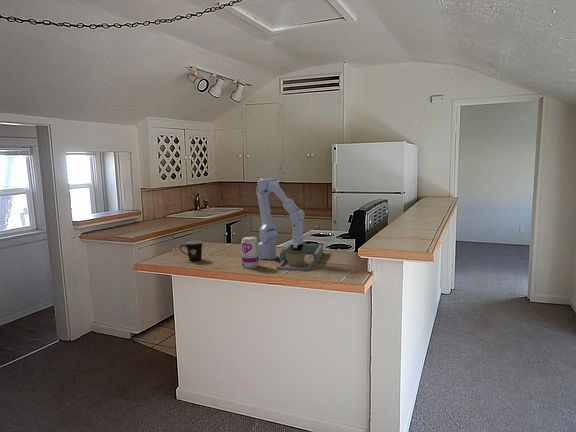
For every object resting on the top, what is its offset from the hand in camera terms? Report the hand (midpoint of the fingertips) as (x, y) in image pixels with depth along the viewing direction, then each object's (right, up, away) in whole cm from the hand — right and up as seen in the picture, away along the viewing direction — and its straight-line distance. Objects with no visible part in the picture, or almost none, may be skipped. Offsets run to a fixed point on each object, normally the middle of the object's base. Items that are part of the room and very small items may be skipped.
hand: (298, 258), depth 223 cm
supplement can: (-25, -4, -4) cm, 25 cm away
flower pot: (-1, -4, -6) cm, 7 cm away
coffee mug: (-58, -2, +12) cm, 59 cm away
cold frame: (+2, -1, +11) cm, 11 cm away
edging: (-1, -3, -5) cm, 6 cm away
